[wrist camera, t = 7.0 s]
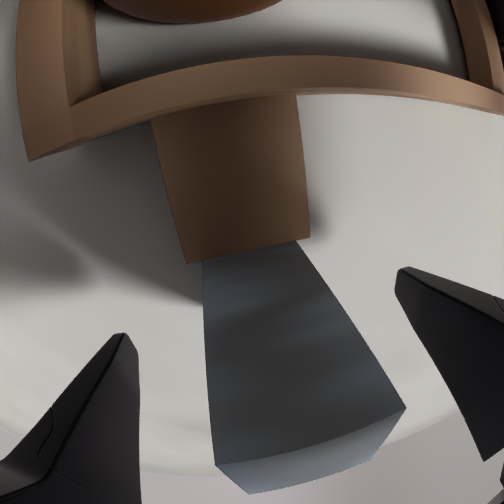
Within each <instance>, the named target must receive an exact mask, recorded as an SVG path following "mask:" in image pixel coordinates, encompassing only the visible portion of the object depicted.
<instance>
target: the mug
mask: <svg viewBox="0 0 504 504" xmlns="http://www.w3.org/2000/svg"><path fill="white" fill-rule="evenodd" d="M103 1H104V2H106V3H107V4H109V5H110V6H112V7H113V8H115V9H117V10H119V11H121V12H124V13H126V14H128V15H131V16H134V17H137V18H141V19H146V20H150V21H156V22H165V23H203V22H213V21H220V20H226V19H232V18H236V17H240V16H244V15H248V14H251V13H254V12H257V11H260V10H263V9H265V8H267V7H270V6H272V5H274V4H276V3H278V2H280V1H281V0H103Z"/></svg>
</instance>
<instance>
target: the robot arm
mask: <svg viewBox="0 0 504 504" xmlns="http://www.w3.org/2000/svg"><path fill="white" fill-rule="evenodd" d="M485 2H486V5H487V7H488V10H489V13H490V16H491V20H492V23H493V26H494V30H495V34H496V37H497V41H498V46H499V50H500V55H501V60H502V65H503V71H504V0H485ZM395 295H396V297H397V299H398V301H399V302H400V304H401V306H402V308H403V310H404V312H405V314H406V316H407V318H408V320H409V322H410V323H411V325H412V327H413V329H414V331H415V332H416V334H417V336H418V337H419V339H420V340H421V342H422V344H423V345H424V347H425V348H426V350H427V352H428V353H429V355H430V357H431V358H432V360H433V362H434V363H435V365H436V367H437V368H438V370H439V372H440V374H441V375H442V377H443V379H444V381H445V383H446V384H447V386H448V388H449V390H450V392H451V394H452V396H453V397H454V399H455V401H456V403H457V405H458V407H459V409H460V411H461V413H462V415H463V417H464V418H465V422H466V423H467V426H468V428H469V430H470V432H471V434H472V437H473V439H474V441H475V443H476V446H477V448H478V451H479V453H480V455H481V458H482V460H483V461H484V462H485V461H486V460H488V459H489V458H490V457H492V456H493V455H494V454H496V453H497V452H499V451H500V450H501V449H503V448H504V299H501V298H499V297H496V296H492V295H490V294H488V293H485V292H482V291H479V290H477V289H474V288H471V287H468V286H465V285H462V284H460V283H457V282H454V281H451V280H448V279H445V278H442V277H439V276H436V275H433V274H430V273H427V272H424V271H421V270H418V269H415V268H412V267H404V268H401V269H399V270H398V272H397V277H396V283H395ZM139 415H140V385H139V359H138V352H137V350H136V348H135V346H134V345H133V343H132V341H131V340H130V338H129V336H128V335H127V334H126V333H117V334H114V335H113V336H112V337H111V338H110V339H109V340H108V341H107V342H106V343H105V344H104V345H103V347H102V348H101V349H100V350H99V351H98V352H97V353H96V354H95V356H94V357H93V358H92V359H91V360H90V361H89V362H88V363H87V365H86V366H85V367H84V368H83V369H82V370H81V371H80V373H79V374H78V375H77V376H76V377H75V378H74V380H73V381H72V382H71V383H70V384H69V385H68V387H67V388H66V389H65V390H64V391H63V393H62V394H61V395H60V396H59V397H58V399H57V400H56V401H55V402H54V403H53V405H52V407H50V408H49V409H48V411H47V412H46V413H45V414H44V416H43V417H42V418H41V419H40V420H39V422H38V423H37V424H36V425H35V426H34V427H33V428H32V430H31V431H30V432H29V433H28V434H27V435H26V436H25V437H24V438H23V439H22V440H21V442H20V443H19V444H18V445H17V446H16V447H15V448H14V449H13V450H12V452H10V453H9V454H8V455H7V456H6V457H5V458H4V459H3V460H1V461H0V504H142V501H141V489H140V467H139ZM500 481H501V483H502V485H503V487H504V464H503V469H502V473H501V478H500ZM488 504H504V489H503V490H502V491H501V492H500V493H499V494H498V495H496V497H494V498H493V499H492V500H491V501H490V502H489V503H488Z"/></svg>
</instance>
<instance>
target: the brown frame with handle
mask: <svg viewBox="0 0 504 504" xmlns="http://www.w3.org/2000/svg"><path fill="white" fill-rule="evenodd" d="M451 2H452V5H453V8H454V11H455V15H456V18H457V21H458V25H459V29H460V33H461V37H462V41H463V45H464V50H465V55H466V60H467V66H468V73H469V80H470V82H469V81H466V80H463V79H460V78H457V77H454V76H450V75H447V74H443V73H440V72H436V71H432V70H428V69H424V68H420V67H415V66H410V65H405V64H400V63H394V62H388V61H381V60H374V59H366V58H356V57H344V56H325V55H286V56H267V57H254V58H244V59H236V60H228V61H221V62H215V63H209V64H203V65H198V66H193V67H188V68H184V69H179V70H175V71H171V72H167V73H163V74H159V75H155V76H152V77H148V78H145V79H142V80H138V81H135V82H132V83H129V84H126V85H123V86H120V87H117V88H115V89H112V90H109V91H106V92H104V93H102V87H101V80H100V72H99V64H98V55H97V44H96V31H95V7H94V0H20V4H19V11H18V21H17V34H16V80H17V94H18V104H19V112H20V119H21V126H22V132H23V138H24V143H25V148H26V152H27V157H28V161H29V162H30V161H33V160H36V159H39V158H42V157H45V156H48V155H51V154H54V153H58V152H61V151H65V150H68V149H71V148H74V147H76V146H78V145H81V144H83V143H86V142H88V141H91V140H93V139H96V138H98V137H101V136H104V135H107V134H109V133H112V132H115V131H118V130H121V129H124V128H127V127H130V126H133V125H136V124H140V123H143V122H146V121H150V120H151V125H152V130H153V135H154V140H155V144H156V149H157V154H158V158H159V162H160V167H161V171H162V175H163V179H164V183H165V187H166V191H167V195H168V199H169V203H170V207H171V211H172V214H173V218H174V222H175V225H176V229H177V233H178V236H179V240H180V243H181V246H182V250H183V253H184V257H185V260H186V263H187V264H188V263H193V262H198V261H202V285H203V319H204V341H205V360H206V375H207V389H208V401H209V413H210V424H211V434H212V443H213V452H214V460H215V466H216V467H218V468H219V469H220V470H221V471H222V472H223V473H224V474H225V475H226V476H227V477H229V478H230V479H231V480H232V481H233V482H234V483H236V484H237V485H238V486H239V487H240V488H241V489H243V490H244V491H245V492H246V493H248V494H254V493H261V492H266V491H271V490H277V489H281V488H286V487H290V486H294V485H298V484H301V483H306V482H309V481H313V480H316V479H319V478H323V477H326V476H329V475H332V474H335V473H337V472H341V471H343V470H346V469H349V468H351V467H354V466H356V465H359V464H361V463H364V462H366V461H369V460H370V459H371V458H372V457H373V455H374V454H375V453H376V451H377V450H378V449H379V447H380V446H381V445H382V443H383V442H384V441H385V439H386V438H387V437H388V435H389V434H390V432H391V431H392V429H393V428H394V426H395V425H396V423H397V422H398V420H399V419H400V417H401V416H402V414H403V413H404V411H405V409H406V406H405V404H404V403H403V401H402V399H401V398H400V396H399V394H398V393H397V391H396V389H395V388H394V386H393V385H392V383H391V381H390V380H389V378H388V376H387V375H386V373H385V372H384V370H383V368H382V367H381V365H380V364H379V362H378V361H377V359H376V357H375V356H374V354H373V353H372V351H371V350H370V348H369V346H368V345H367V343H366V342H365V340H364V339H363V337H362V336H361V334H360V333H359V331H358V330H357V328H356V327H355V325H354V324H353V322H352V321H351V319H350V318H349V316H348V315H347V313H346V312H345V310H344V309H343V307H342V306H341V304H340V303H339V301H338V300H337V298H336V297H335V295H334V294H333V293H332V291H331V290H330V288H329V287H328V285H327V284H326V282H325V281H324V280H323V278H322V277H321V275H320V274H319V272H318V271H317V270H316V268H315V267H314V265H313V264H312V263H311V261H310V260H309V258H308V257H307V256H306V254H305V253H304V251H303V250H302V249H301V247H300V246H299V245H298V243H297V242H296V240H301V239H305V238H310V225H309V211H308V198H307V187H306V176H305V166H304V156H303V147H302V139H301V131H300V123H299V115H298V108H297V101H296V95H310V94H368V95H385V96H397V97H407V98H416V99H423V100H430V101H436V102H442V103H448V104H453V105H458V106H463V107H467V108H472V109H476V110H480V111H484V112H488V113H493V114H498V115H503V116H504V71H503V65H502V60H501V55H500V50H499V46H498V41H497V37H496V34H495V30H494V26H493V23H492V20H491V16H490V13H489V10H488V7H487V5H486V2H485V0H451Z"/></svg>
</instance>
